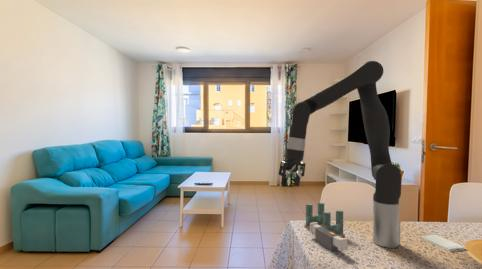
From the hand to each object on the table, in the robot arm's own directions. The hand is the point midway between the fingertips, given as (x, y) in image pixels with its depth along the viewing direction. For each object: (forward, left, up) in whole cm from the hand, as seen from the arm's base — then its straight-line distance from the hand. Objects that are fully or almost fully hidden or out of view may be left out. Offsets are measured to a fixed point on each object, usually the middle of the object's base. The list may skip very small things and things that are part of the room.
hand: (290, 186), depth 109 cm
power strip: (-11, +10, -23) cm, 27 cm away
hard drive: (-57, +25, -23) cm, 66 cm away
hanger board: (-19, -2, -23) cm, 30 cm away
